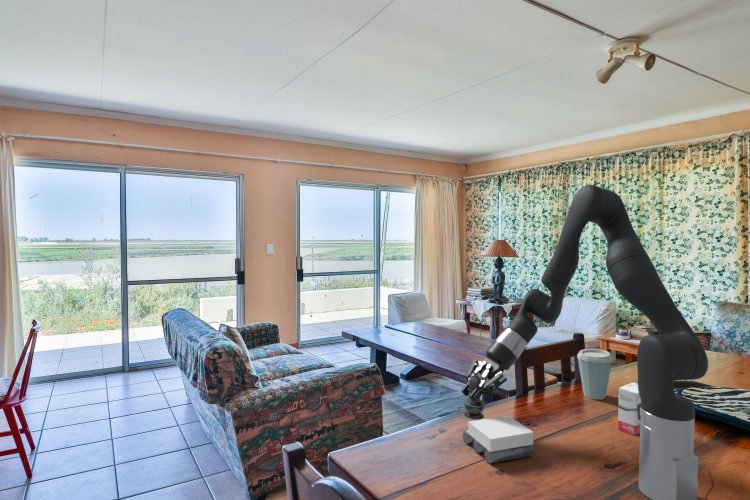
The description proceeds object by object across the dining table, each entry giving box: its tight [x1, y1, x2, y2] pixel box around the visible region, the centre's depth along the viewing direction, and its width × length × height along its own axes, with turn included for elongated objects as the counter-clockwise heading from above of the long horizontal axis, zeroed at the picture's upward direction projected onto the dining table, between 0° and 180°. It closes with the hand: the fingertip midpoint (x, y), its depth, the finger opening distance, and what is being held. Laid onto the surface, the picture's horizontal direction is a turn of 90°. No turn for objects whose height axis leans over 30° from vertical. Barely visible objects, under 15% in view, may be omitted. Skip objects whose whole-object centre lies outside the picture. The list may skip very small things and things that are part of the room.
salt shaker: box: [463, 372, 486, 421], centre depth 119 cm, size 6×6×12 cm
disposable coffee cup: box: [576, 348, 613, 400], centre depth 145 cm, size 11×11×15 cm
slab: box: [467, 415, 535, 452], centre depth 107 cm, size 10×12×3 cm
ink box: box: [617, 382, 641, 436], centre depth 120 cm, size 8×5×12 cm, turn 123°
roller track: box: [462, 430, 536, 464], centre depth 109 cm, size 13×12×3 cm
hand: (467, 396), depth 118 cm, fingers closed on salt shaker, 3 cm apart
